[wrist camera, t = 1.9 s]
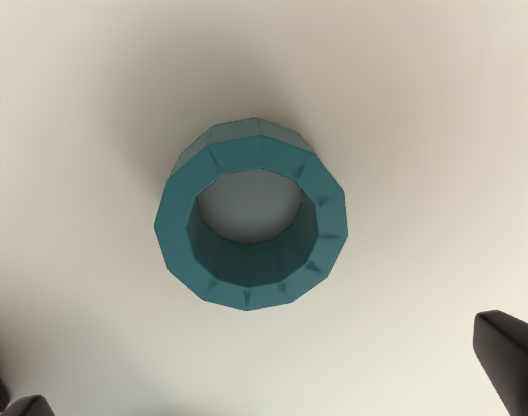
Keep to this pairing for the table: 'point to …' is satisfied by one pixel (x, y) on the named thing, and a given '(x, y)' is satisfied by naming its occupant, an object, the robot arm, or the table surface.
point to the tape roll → (257, 254)
